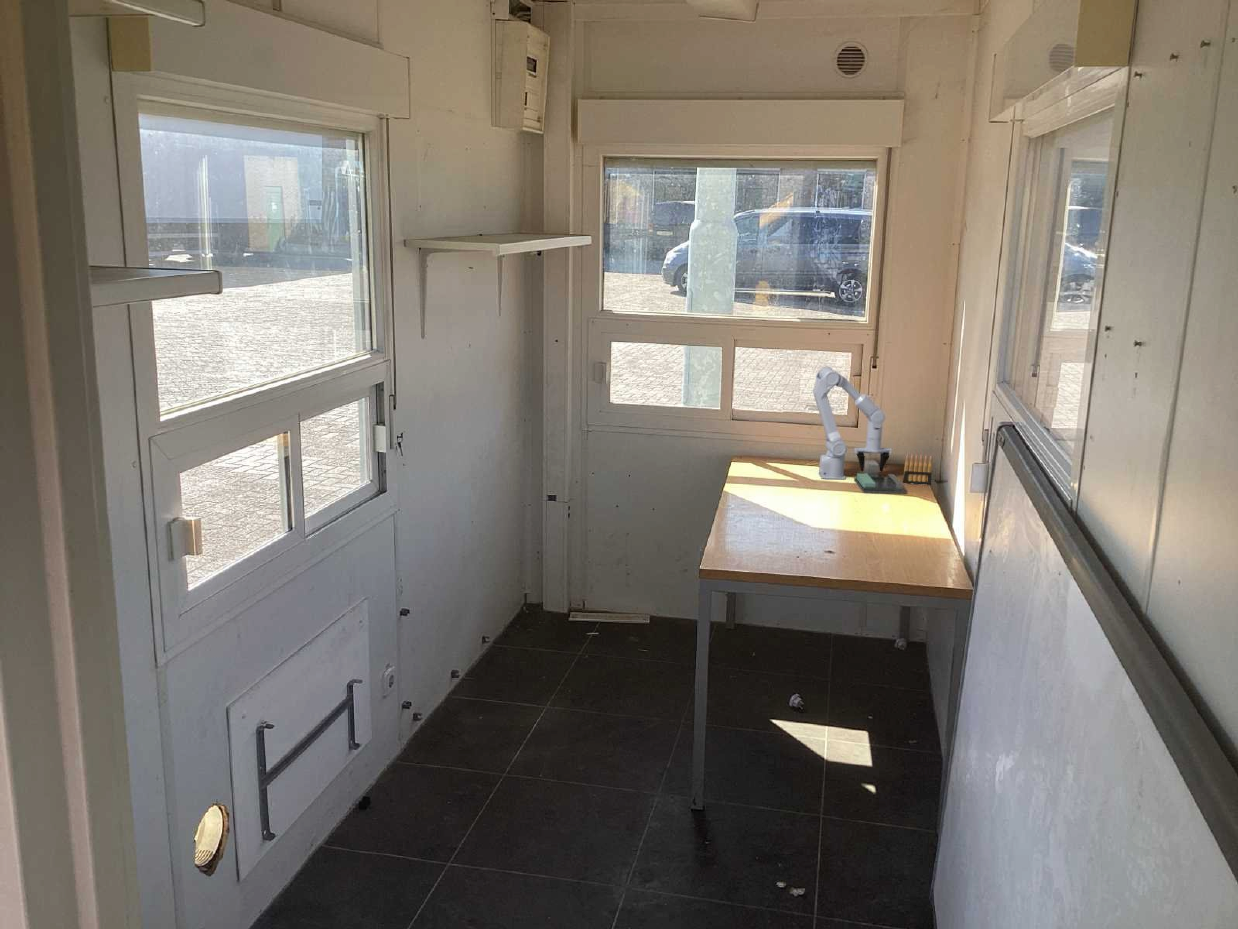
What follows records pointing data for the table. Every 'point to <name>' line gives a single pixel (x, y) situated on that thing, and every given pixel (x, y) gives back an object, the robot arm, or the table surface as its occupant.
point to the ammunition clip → (917, 470)
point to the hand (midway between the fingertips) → (871, 470)
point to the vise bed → (884, 485)
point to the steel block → (871, 468)
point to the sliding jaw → (865, 480)
